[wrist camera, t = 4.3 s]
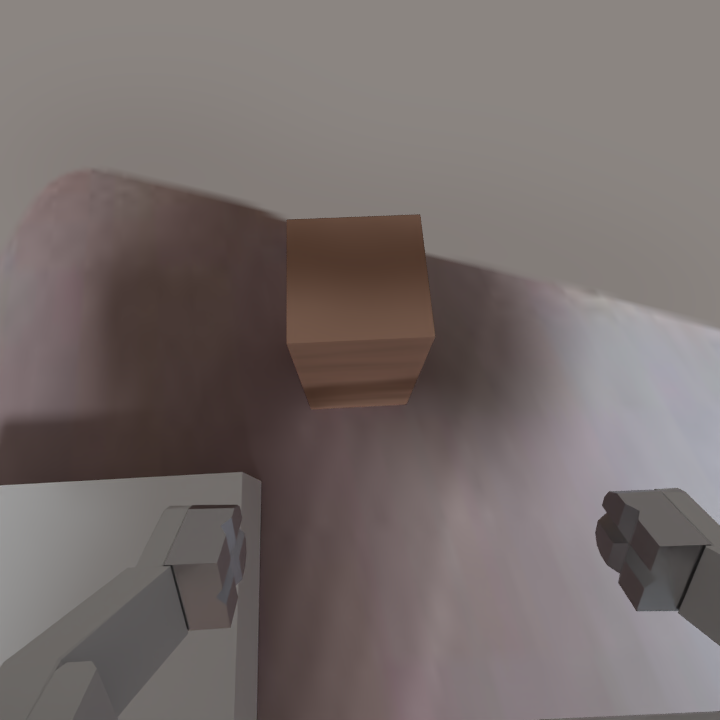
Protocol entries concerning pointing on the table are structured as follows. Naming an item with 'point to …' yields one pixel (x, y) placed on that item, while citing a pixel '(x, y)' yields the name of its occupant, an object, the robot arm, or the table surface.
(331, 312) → the terracotta block
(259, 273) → the table surface
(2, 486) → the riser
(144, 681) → the robot arm
